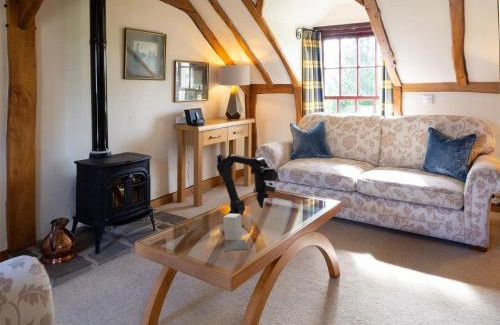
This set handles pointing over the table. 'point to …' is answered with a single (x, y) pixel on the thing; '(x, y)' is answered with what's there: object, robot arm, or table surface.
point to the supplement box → (232, 226)
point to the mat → (235, 245)
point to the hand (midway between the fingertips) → (261, 207)
